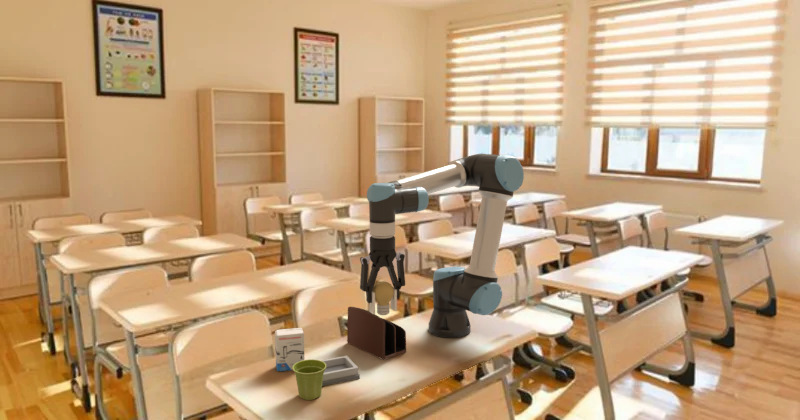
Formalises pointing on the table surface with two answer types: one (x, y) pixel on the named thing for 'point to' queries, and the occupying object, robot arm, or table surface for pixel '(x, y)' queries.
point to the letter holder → (374, 334)
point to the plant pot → (309, 378)
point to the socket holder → (339, 370)
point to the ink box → (289, 348)
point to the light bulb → (383, 296)
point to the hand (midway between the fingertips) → (383, 310)
